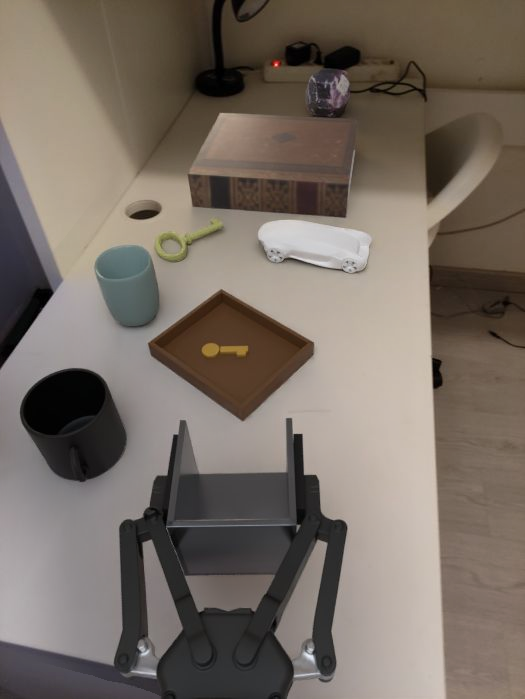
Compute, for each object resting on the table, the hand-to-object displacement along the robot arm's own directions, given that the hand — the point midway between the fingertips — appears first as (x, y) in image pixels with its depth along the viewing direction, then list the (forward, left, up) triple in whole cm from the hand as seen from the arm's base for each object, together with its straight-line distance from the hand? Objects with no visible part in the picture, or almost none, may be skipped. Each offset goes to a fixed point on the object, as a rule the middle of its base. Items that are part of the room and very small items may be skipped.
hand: (238, 443), depth 45 cm
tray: (-18, +17, -16) cm, 29 cm away
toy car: (-23, +41, -16) cm, 50 cm away
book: (-43, +56, -16) cm, 73 cm away
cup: (-34, +14, -16) cm, 40 cm away
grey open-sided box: (+3, -3, -6) cm, 7 cm away
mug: (-20, -6, -16) cm, 27 cm away
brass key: (-19, +16, -15) cm, 29 cm away
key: (-41, +31, -16) cm, 54 cm away
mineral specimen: (-52, +84, -16) cm, 101 cm away
